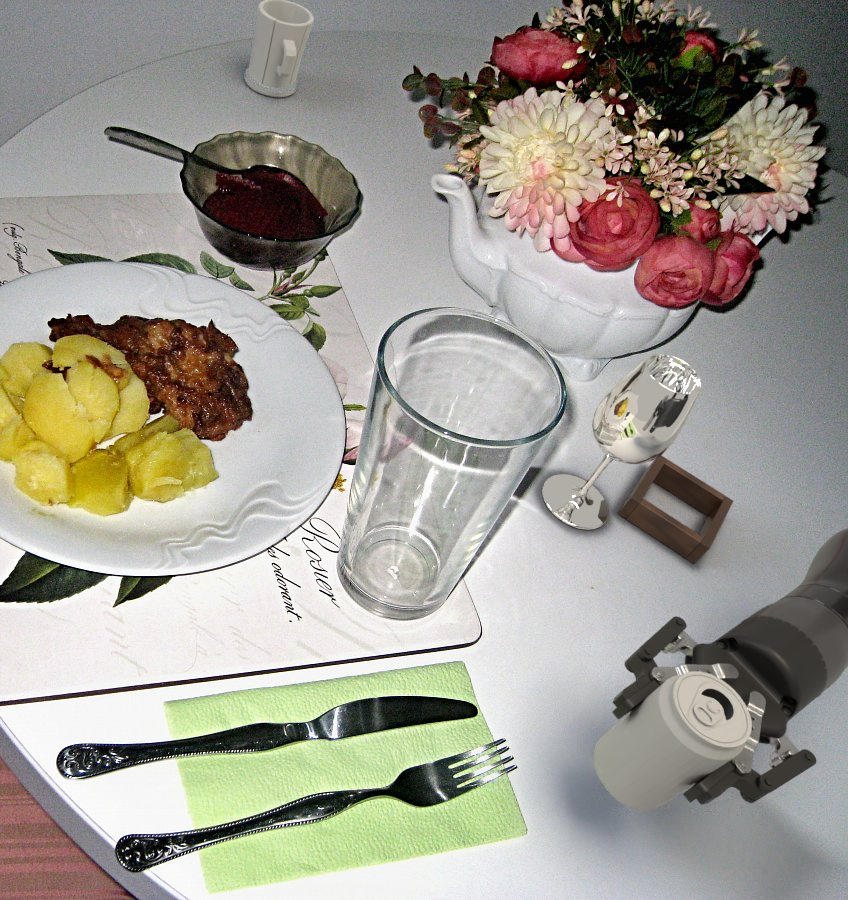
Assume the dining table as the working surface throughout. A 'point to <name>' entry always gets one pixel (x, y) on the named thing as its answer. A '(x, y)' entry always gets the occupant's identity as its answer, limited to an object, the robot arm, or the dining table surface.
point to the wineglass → (628, 433)
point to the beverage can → (672, 740)
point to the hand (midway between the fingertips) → (656, 751)
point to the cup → (278, 45)
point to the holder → (667, 526)
